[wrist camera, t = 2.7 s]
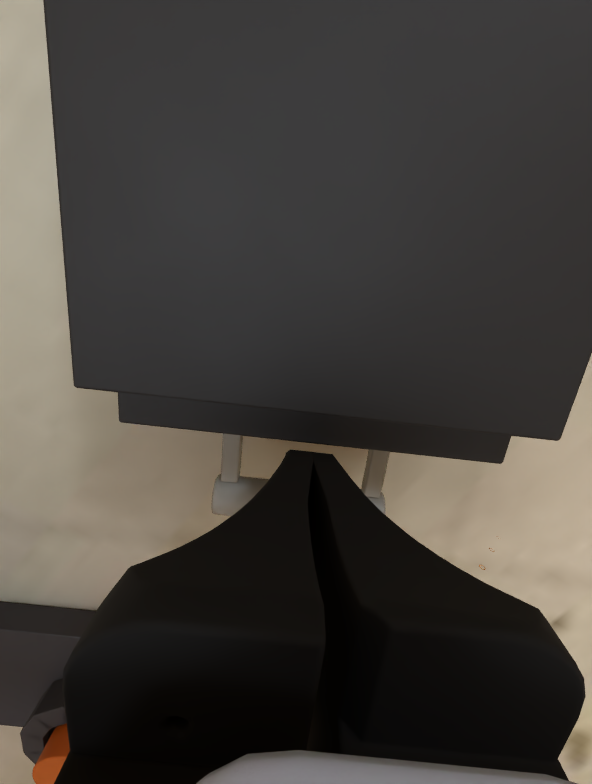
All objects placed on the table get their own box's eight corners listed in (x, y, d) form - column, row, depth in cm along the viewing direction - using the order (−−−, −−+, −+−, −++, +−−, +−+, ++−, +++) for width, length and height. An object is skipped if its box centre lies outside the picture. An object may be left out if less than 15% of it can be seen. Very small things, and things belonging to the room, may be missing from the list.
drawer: (407, 473, 18) (463, 589, 12) (187, 449, 18) (123, 553, 12) (509, 33, 13) (715, -197, 6) (198, -6, 13) (88, -285, 6)
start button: (55, 757, 22) (35, 797, 20) (49, 715, 21) (28, 754, 19) (118, 763, 22) (103, 804, 20) (115, 722, 21) (99, 761, 19)
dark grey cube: (439, 357, 17) (560, 442, 9) (182, 328, 17) (72, 388, 9) (532, -34, 13) (921, -538, 5) (189, -79, 13) (-14, -682, 5)
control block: (-39, 702, 25) (-90, 769, 22) (-66, 594, 22) (-130, 652, 19) (162, 722, 26) (141, 790, 22) (161, 617, 23) (137, 678, 19)
